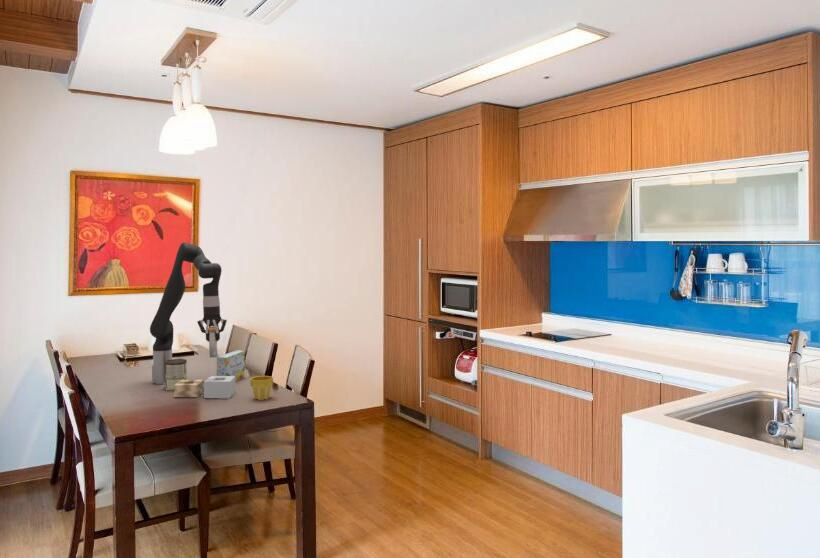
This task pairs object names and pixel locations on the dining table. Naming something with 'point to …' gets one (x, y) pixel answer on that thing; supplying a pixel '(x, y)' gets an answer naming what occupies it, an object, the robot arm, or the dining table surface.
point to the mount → (189, 388)
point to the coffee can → (175, 372)
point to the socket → (219, 387)
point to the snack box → (232, 364)
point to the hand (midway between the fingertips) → (213, 340)
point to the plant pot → (261, 386)
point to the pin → (212, 342)
